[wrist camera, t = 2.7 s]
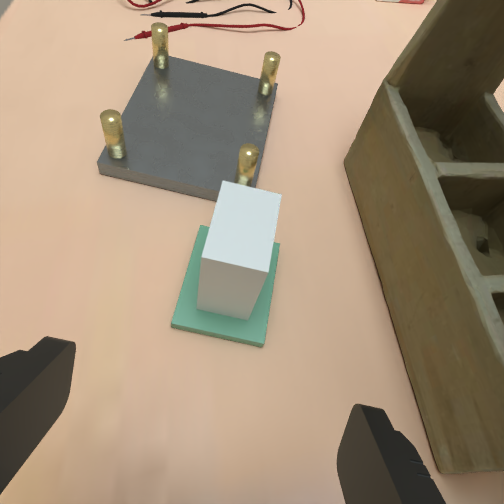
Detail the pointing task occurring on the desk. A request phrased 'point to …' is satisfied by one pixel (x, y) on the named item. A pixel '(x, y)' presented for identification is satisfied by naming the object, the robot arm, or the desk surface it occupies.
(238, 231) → the board module
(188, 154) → the standoff chassis
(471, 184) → the caddy
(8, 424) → the robot arm
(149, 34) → the digital clamp meter
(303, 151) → the desk surface
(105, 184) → the desk surface
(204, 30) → the desk surface
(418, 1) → the ink cartridge box
